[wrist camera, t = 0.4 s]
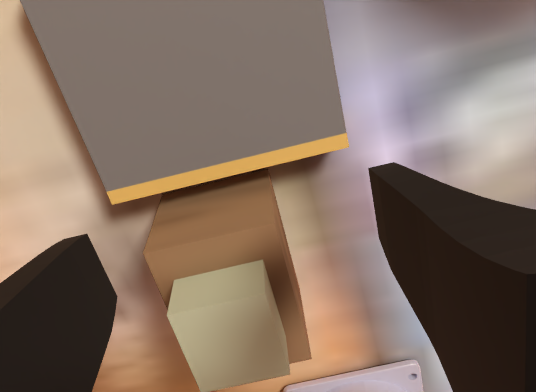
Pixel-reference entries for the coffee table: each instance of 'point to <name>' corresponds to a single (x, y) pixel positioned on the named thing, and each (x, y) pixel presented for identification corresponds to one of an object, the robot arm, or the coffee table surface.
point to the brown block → (228, 243)
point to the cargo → (229, 326)
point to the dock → (192, 86)
